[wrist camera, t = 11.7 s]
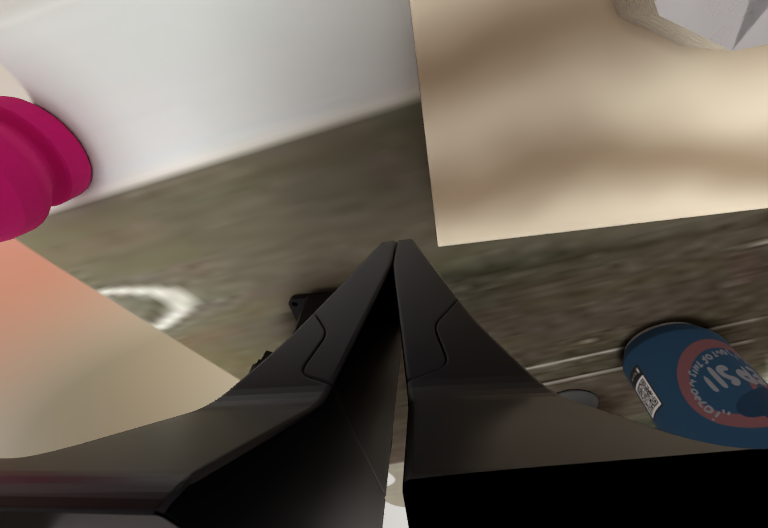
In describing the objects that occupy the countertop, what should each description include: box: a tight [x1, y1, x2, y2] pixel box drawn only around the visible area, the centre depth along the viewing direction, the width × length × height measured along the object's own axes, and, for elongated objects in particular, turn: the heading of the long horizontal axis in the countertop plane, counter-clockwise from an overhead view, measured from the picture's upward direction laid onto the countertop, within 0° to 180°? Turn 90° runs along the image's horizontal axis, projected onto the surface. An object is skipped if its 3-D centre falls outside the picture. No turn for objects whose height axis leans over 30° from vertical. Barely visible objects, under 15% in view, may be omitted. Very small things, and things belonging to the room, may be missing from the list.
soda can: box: [623, 322, 768, 449], centre depth 22 cm, size 7×7×12 cm
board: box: [410, 0, 768, 247], centre depth 15 cm, size 20×19×1 cm
